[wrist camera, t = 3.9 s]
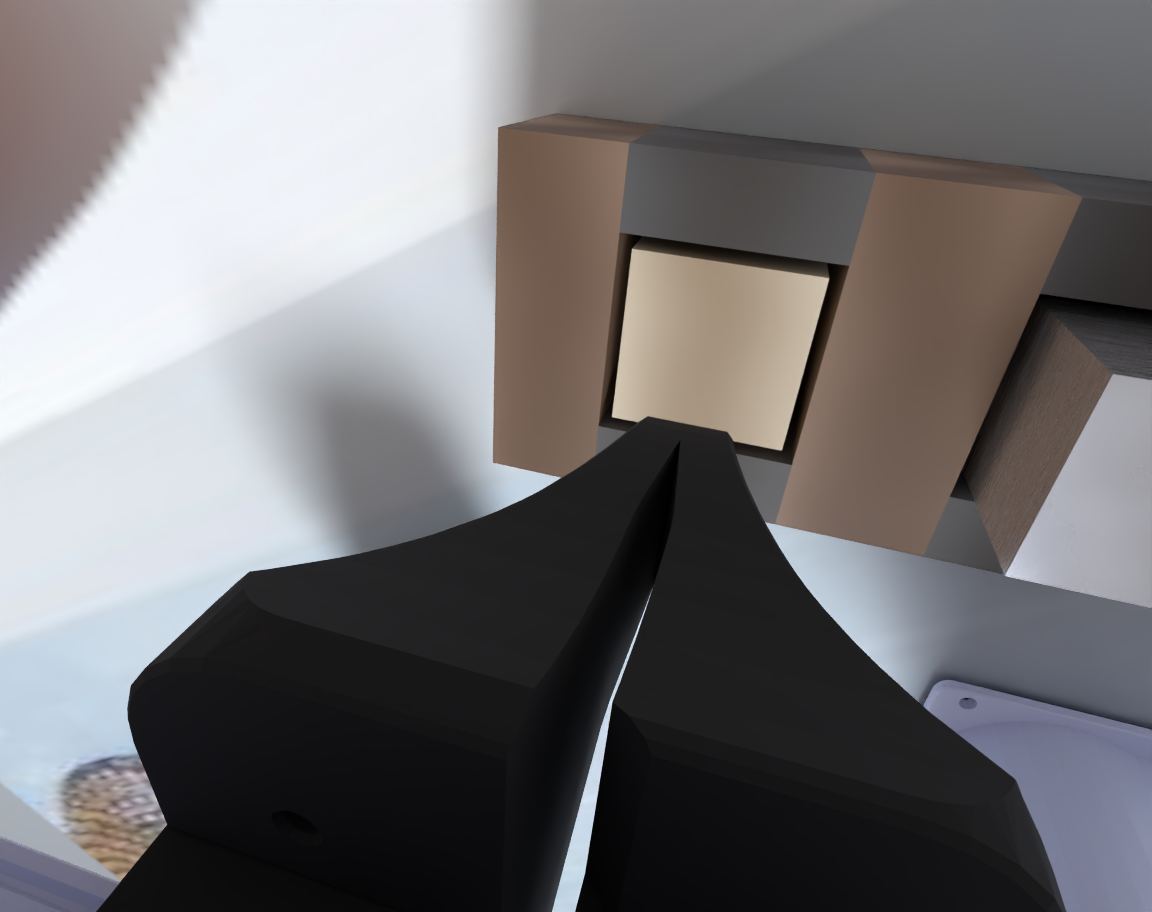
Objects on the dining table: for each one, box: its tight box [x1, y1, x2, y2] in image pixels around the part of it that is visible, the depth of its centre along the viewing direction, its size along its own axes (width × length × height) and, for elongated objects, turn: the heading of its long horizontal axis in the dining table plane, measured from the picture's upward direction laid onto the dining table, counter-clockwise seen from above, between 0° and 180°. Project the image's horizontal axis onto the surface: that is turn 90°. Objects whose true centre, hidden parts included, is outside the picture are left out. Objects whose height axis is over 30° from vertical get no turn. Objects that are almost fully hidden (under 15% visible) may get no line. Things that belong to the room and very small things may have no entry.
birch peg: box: [612, 236, 829, 451], centre depth 17 cm, size 4×4×4 cm
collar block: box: [493, 114, 1152, 574], centre depth 16 cm, size 18×8×4 cm, turn 85°
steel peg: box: [962, 297, 1152, 608], centre depth 13 cm, size 4×4×4 cm
